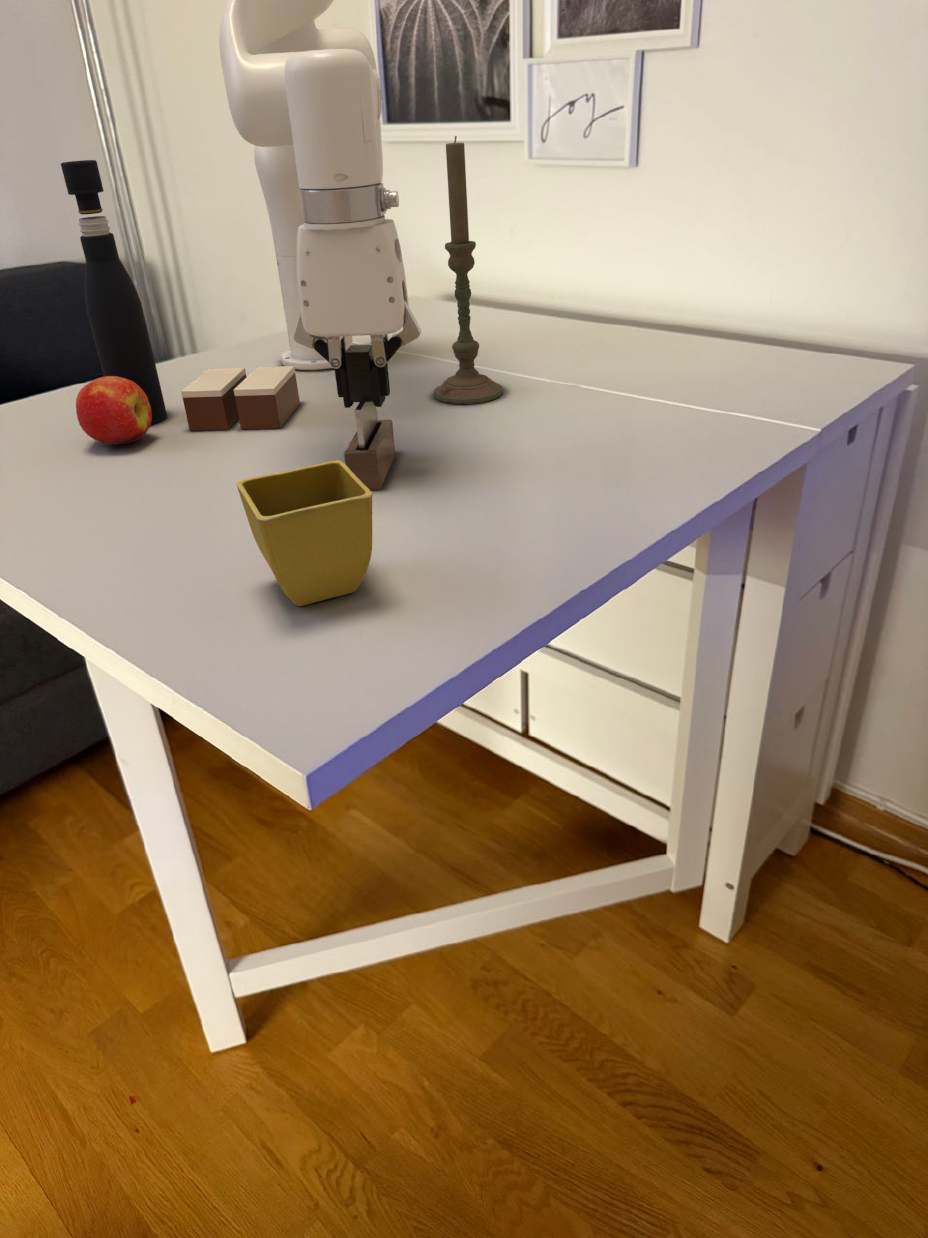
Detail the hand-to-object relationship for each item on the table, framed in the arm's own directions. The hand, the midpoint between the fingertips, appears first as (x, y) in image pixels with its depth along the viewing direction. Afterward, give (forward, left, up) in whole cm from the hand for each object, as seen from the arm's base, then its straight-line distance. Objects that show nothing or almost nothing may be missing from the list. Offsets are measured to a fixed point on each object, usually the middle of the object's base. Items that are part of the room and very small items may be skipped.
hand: (365, 401), depth 92 cm
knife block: (0, 0, -8) cm, 8 cm away
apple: (-11, -33, -8) cm, 36 cm away
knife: (0, 0, -8) cm, 8 cm away
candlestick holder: (-27, +8, -8) cm, 29 cm away
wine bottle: (-20, -34, -8) cm, 40 cm away
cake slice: (-20, -17, -8) cm, 27 cm away
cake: (-20, -23, -8) cm, 32 cm away
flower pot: (+26, 0, -8) cm, 27 cm away
